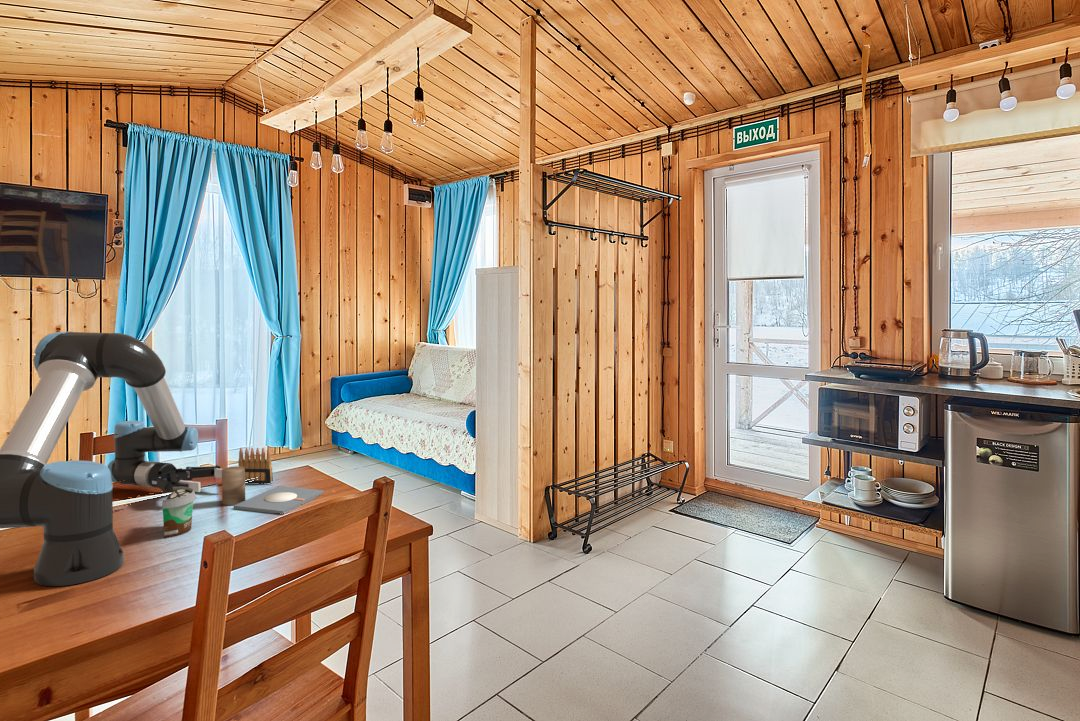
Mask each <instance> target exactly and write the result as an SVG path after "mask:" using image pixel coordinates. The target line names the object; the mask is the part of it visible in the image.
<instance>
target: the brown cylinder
mask: <svg viewBox="0 0 1080 721" xmlns="http://www.w3.org/2000/svg"><path fill="white" fill-rule="evenodd" d="M221 469H222V478H221V492H222V494H221V495H222V496H221V497H222V505H223V506H228V507H232V506H233V507H234V505H236V504H238V503H241V502H243V501H245V500H246V484H245V468H244V467H239V465H238V466H236V465H235V466H228V467H225V468H221Z"/></svg>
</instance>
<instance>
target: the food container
mask: <svg viewBox="0 0 1080 721" xmlns="http://www.w3.org/2000/svg"><path fill="white" fill-rule="evenodd" d="M196 496H197V495H196V492H194V491H193V489H192V488H189V487H173V490H171V493H169V494H168V495H167V498H166V499H162V505H161V509H162V516H163V517H162V519H163V520H162V522H163V538H164V539H169V537H170V538H174V537H179V536H181V535H184V534H186V533H189V532H190V531H191V530H192V523H193V508H194V502H195V500H196V499H197V497H196Z"/></svg>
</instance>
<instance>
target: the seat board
mask: <svg viewBox="0 0 1080 721" xmlns="http://www.w3.org/2000/svg"><path fill="white" fill-rule="evenodd" d="M323 492H324V493H325V490H323V489H313V488H303V487H294V486H285V485H284V486H283V485H278V486H275V487H273V488H271V489H268V490H266V491H264V492H262V493H259V494H257V495H254V496H253V497H250V498H248V499H245V501H243V502H241V503H238V504H236V505H233V510H237V511H238V510H239V511H249V512H257V513H266V514H273V513H281V514H280V515H285V514H287V513H288V512H287V511H289V510H291V509H293V510H295V509H297V508H299V507H301V506H302V505H301V504H303V505H304V503H305V504H306V502H307V503H308V502H311V501H312V500H314V499H316V498H317V497H316V496H318V495H320V494H322V493H323ZM322 495H323V494H322ZM320 496H321V495H320ZM315 497H316V498H315ZM318 497H319V496H318ZM300 505H301V506H300ZM298 506H299V507H298ZM294 508H295V509H294ZM291 511H292V510H291ZM284 512H286V513H284ZM289 512H290V511H289ZM282 513H284V514H282Z"/></svg>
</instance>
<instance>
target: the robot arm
mask: <svg viewBox="0 0 1080 721" xmlns="http://www.w3.org/2000/svg"><path fill="white" fill-rule="evenodd" d="M34 354H35V355H34V356H33V360H32V361H33V366H34V370H36V372H37V375H38V378H39V381H38V383H36V384H37V385H36V386H35V388H34V390H33V391H32V393H31V395H30V397H29V398H28V400H27V402H26V404H25V405H24V407H23V409H22V410H21V412H20V414H19V416H18V418H17V420H16V421H15V422H14V425H13V426H12V428H11V430H10V432H9V433H8V435H7V437H6V438H5V440H4V441H3V444H2V446H1V447H0V529H12V528H13V529H15V528H18V529H19V528H31V527H42V530H43V544H42V546H41V549H40V552H39V555H38V559H37V561H36V564H35V566H34V569H33V580H34V581H33V582H35V583H36V584H38V585H40V586H45V587H63V586H71V585H76V584H77V585H78V584H83V583H86V582H90V581H94V580H97V579H100V578H103V577H106V576H109V575H110V574H112V573H114V572H116V571H117V570H119V569H121V567H122V566H123V565H124V561H125V560H124V559H125V558H124V557H125V556H124V555H125V554H124V551H123V548H122V546H121V544H120V543H119V542H120V541H119V540H118V537H117V536H116V534H115V532H114V525H113V524H114V514H113V512H114V511H113V508H114V507H113V504H114V502H113V488H114V485H113V484H114V482H117V483H116V484H118V485H124V486H125V485H131V486H140V487H141V486H142V487H143V486H144V487H147V488H148V489H151V488H157V489H160V490H162V491H164V492H165V493H170V492H171V493H172V491H173V487H189V488H192V489H193V491H194V492H195V493H200V492H201V491H202V490H201V485H202V484H201V481H192V480H193V479H201V478H210V477H211V478H212V477H214V478H218V479H222V469H223V468H221V466H220V465H218V464H215V465H213V466H212V465H211V466H186V467H185V468H182V467H181V468H177V467H176V466H175V465H174V464H173V463H171V462H159V461H153V460H152V461H150V460H145V456H146V454H145V453H157V452H158V453H159V452H161V453H162V452H168V453H169V452H180V453H182V452H190V451H194V450H195V449H197V446H198V443H199V432H198V429H197V428H196V427H194V426H186V424H185V423H184V420H183V418H182V415H181V413H180V411H179V408H178V406H177V404H176V402H175V400H174V396H173V395H172V392H171V390H170V388H169V386H168V383H167V381H166V379H165V376H166V373H167V371H166V368H165V366H164V363H163V361H162V360H161V358H160V357H159V355H158V354H157V353H156V351H154V350H153V349H152V348H151V347H150V346H149V345H147V344H146V343H145V342H143V341H141V340H140V339H137V338H136V337H133V336H131V335H128V334H124V333H119V332H110V333H109V332H86V331H85V332H78V331H76V332H75V331H62V332H61V331H60V332H51V333H48V334H47V335H45V336H43V337H42V338H41V339H40V340H39V341H38V343H37V345H36V346H35V349H34ZM99 378H119V379H123V380H124V382H125V383H126V385H127V386H129V387H131V388H133V389H134V392H135V393H136V395H137V397H138V399H139V401H140V402H141V405H142V406H143V409H144V411H145V412H146V414H147V416H148V418H149V421H150V422H151V424H152V427H145V422H144V421H142V420H127V421H125V420H124V421H120V422H117V423H116V424H115V425H114V435H115V434H118V435H115V436H114V435H113V441H114V442H113V443H114V459H113V460H111V461H110V462H108V464H107V465H105V464H103V463H100V462H96V461H91V460H80V459H79V460H77V459H76V460H71V459H70V460H67V461H66V460H61V461H53V462H50V463H48V462H49V460H50V458H51V455H52V454H53V451H54V449H55V447H56V446H57V444H58V442H59V440H60V437H61V435H62V434H63V432H64V429H65V427H66V426H67V423H68V421H69V419H70V417H71V415H72V413H73V411H74V410H75V407H76V405H77V403H78V402H79V399H80V397H81V396H82V393H83V392H84V391H88V390H90V389H91V388H93V387H94V385H95V383H96V382H97V380H98V379H99ZM115 451H117V452H115ZM188 476H189V477H188ZM123 480H125V481H123ZM119 481H121V482H119Z"/></svg>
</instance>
